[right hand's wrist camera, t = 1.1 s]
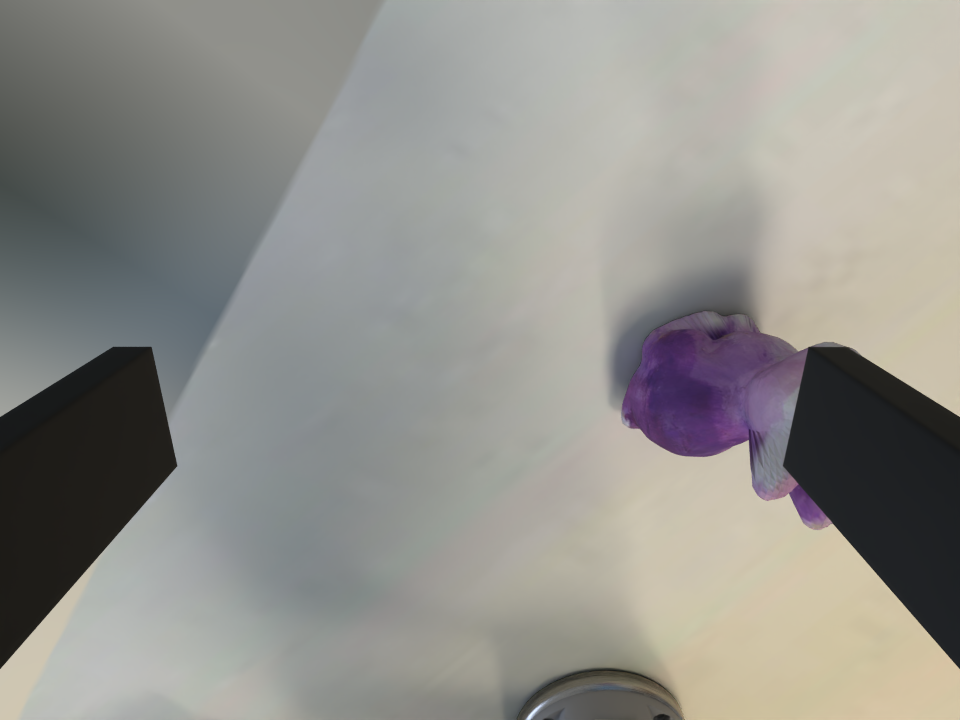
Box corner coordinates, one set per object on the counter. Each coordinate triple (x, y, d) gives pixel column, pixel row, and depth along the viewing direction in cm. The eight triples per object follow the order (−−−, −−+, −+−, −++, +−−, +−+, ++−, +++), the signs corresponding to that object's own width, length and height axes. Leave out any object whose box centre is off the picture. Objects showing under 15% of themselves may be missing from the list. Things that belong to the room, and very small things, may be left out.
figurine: (790, 299, 39) (961, 400, 25) (738, 435, 43) (862, 588, 29) (649, 274, 39) (745, 364, 25) (609, 414, 42) (673, 561, 28)
